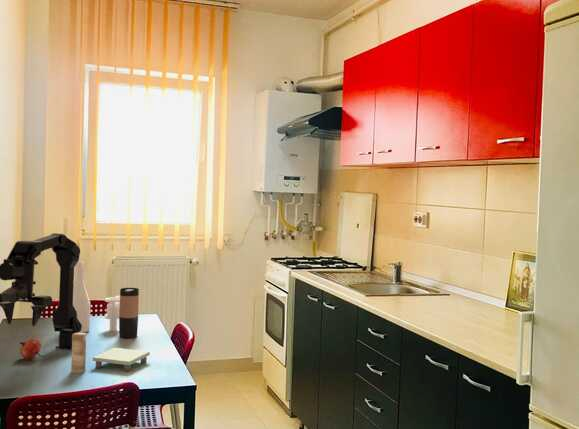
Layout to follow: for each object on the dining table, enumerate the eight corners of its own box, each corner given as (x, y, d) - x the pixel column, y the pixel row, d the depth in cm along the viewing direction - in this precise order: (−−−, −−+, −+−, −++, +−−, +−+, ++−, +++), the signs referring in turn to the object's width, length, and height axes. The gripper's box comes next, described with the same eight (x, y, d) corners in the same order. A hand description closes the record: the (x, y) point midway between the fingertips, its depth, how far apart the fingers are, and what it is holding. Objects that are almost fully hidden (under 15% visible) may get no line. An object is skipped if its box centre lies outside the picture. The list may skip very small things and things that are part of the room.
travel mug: (131, 333, 256) (133, 287, 256) (141, 337, 251) (142, 289, 250) (115, 336, 251) (116, 288, 250) (124, 339, 246) (125, 291, 245)
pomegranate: (35, 361, 219) (11, 347, 214) (48, 344, 220) (25, 330, 216) (37, 368, 212) (13, 354, 208) (51, 351, 214) (27, 337, 209)
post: (76, 368, 204) (77, 332, 203) (87, 370, 203) (88, 333, 202) (68, 372, 200) (69, 334, 199) (80, 374, 198) (81, 336, 198)
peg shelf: (114, 357, 219) (114, 347, 219) (149, 361, 215) (149, 351, 215) (92, 368, 205) (92, 357, 205) (128, 372, 202) (129, 361, 202)
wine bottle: (92, 329, 262) (94, 260, 261) (85, 334, 253) (87, 263, 252) (70, 328, 262) (72, 259, 261) (62, 333, 252) (64, 262, 252)
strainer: (121, 331, 259) (121, 297, 259) (103, 332, 258) (104, 297, 257) (122, 328, 266) (122, 294, 266) (105, 328, 265) (106, 294, 264)
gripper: (-17, 278, 198) (-20, 326, 197) (34, 282, 194) (31, 330, 193) (6, 276, 209) (3, 321, 208) (54, 279, 205) (51, 325, 204)
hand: (21, 324), depth 203 cm, fingers open, 9 cm apart
